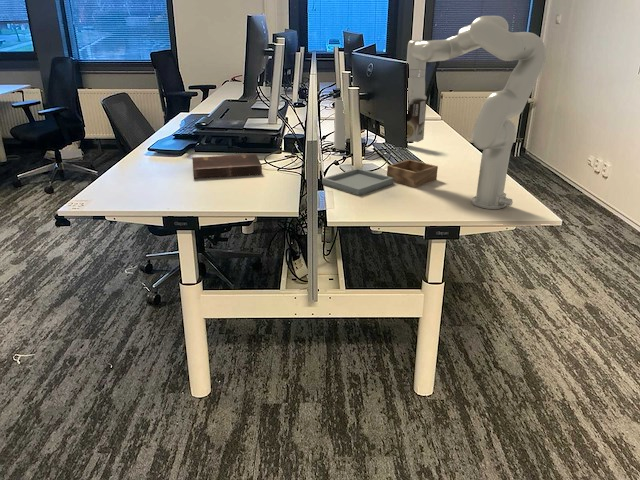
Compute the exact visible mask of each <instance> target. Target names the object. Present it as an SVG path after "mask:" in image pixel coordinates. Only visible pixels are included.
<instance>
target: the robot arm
mask: <svg viewBox="0 0 640 480" xmlns="http://www.w3.org/2000/svg"><path fill="white" fill-rule="evenodd" d="M509 27H510V26H509V23H508V21H507V20H506V18H504V17H503V16H500V15H481V16H479V17H477V18H476V19H474V20H473V21H472V23H471V24H469V25H468V24H467V25H465V26H463V27H461V28H460V29H459V30H458V32H457V35H454V36H451V37H448V38H446V39H434V40H431V39H430V40H424V39H411V40H409V41H408V42H407V43H408V44H407V52H406V64H407V63H408V64H409V78H408V101H409V103H408V110H407V111H408V114H407V121H410V111H409V110H410V107H411V104H413V103H414V101H418V100H422V99H424V100H426V101H427V98H428V97H427V95H426V68H427V67H426V66H427V63H433V62H443V61H444V62H445V61H448V60H451V59H454V58H458V57H460V56H463V55H465V54H467V53H469V52H472V51H476V50H478V49H480V48H481V49H484V50H485V51H486V52H488V53H490V54H491V55H492V56H494V57H496V58H497V59H499V60H501V61H505V62H507V61H508V62H511V61H518V62H517V64H516V65H515V67H514V68H513V70H512V72H511V73H510V75H509V77H508V80H507V82H506V84H505V86H504V88H503V89H502V90H497V91H494V92H493V93H491V94H490V95H489V96H487V98H486V99H485V100H484V102H483V103H482V106H481V108H480V110H479V113H478V115H477V118H476V120H475V123H474V124H473V128H472V131H471V140H472V143H473V146H475V147H476V148H478V149H479V150H483V151H482V153H481V159H480V164H479V165H480V166H479V173H478V178H477V179H478V180H477V187H476V195H475V196H473V197H472V198H471V200H470V201H471V204H472V205H473V206H475V207H478V208H481V209H488V210H500V209H503V208H506V206H510V207H511V206H513V202H514V201H513V198H509V197H507V193H505V187H506V181H507V180H506V179H507V174H508V168H509V162H510V157H511V150H512V147H513V146H514V145H513V144H514V142H515V138H516V133H517V132H516V127H515V123H514V122H513V121H512V120H511V118H515V117H518V116H519V115H521V114H522V113H523V111H524V109H525V107H526V104H527V102H528V100H529V99H530V97H531V94H532V91H533V89H534V87H535V84H536V82H537V80H538V79H539V76H540V74H541V72H542V69H543V67H544V66H545V62H546V57H547V56H546V55H547V50H546V46H545V43H544V41H543V40H542V39H541V37H540V36H539V35H537V34H536V33H534V32H529V31H518V32H517V31H515V32H511V31H509Z"/></svg>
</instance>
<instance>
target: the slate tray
mask: <svg viewBox="0 0 640 480" xmlns="http://www.w3.org/2000/svg"><path fill="white" fill-rule="evenodd" d="M394 183H395V182H394V178H392V177H389V176H387V175H384V174H380V173H377V172H373V171H369V170H367V169H363V168H358V167H357V168H353V169H350V170H347V171H343V172H339V173H336V174H332V175H329V176H326V177H323V178H321V184H322V185H324V186H326V187H330V188H332V189H333V188H334V189H337V190H339V191H342V192H345V193H349V194H352V195H356V196H361V195H364V194H369V193H370V192H373V191H376V190H379V189H382V188H385V187H388V186H390V185H391V186H392V185H393V184H394Z"/></svg>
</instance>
